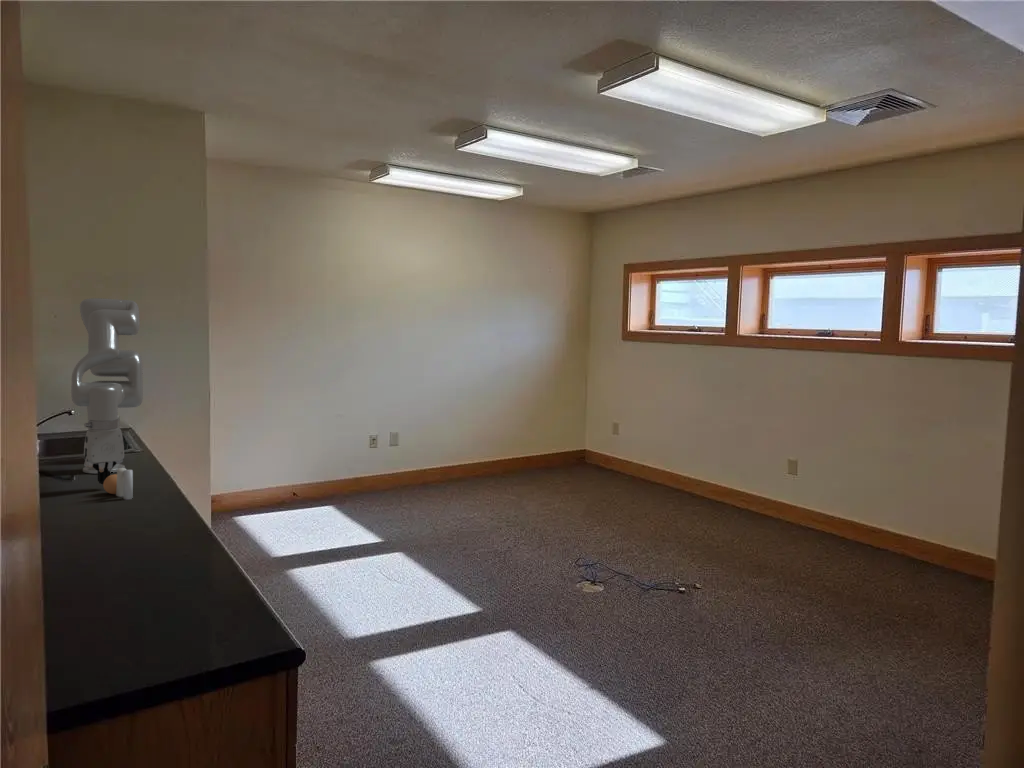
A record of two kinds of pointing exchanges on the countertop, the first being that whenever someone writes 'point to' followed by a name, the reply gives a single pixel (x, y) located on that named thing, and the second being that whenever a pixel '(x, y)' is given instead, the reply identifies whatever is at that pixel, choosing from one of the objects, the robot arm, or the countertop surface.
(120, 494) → the pin
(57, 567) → the countertop surface
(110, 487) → the ball
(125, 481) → the pin
